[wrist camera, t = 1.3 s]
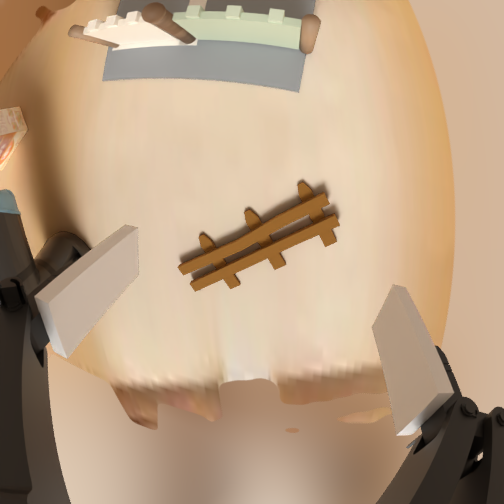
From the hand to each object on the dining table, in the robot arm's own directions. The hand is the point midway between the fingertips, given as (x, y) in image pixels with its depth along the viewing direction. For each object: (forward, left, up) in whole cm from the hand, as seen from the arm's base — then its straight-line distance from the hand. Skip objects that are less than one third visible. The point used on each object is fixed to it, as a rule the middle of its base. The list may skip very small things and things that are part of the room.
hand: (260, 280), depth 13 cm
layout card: (-15, +23, -27) cm, 39 cm away
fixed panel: (-23, +18, -27) cm, 40 cm away
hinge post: (-16, +18, -27) cm, 36 cm away
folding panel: (-7, +18, -26) cm, 33 cm away
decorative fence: (-2, -11, -28) cm, 30 cm away
